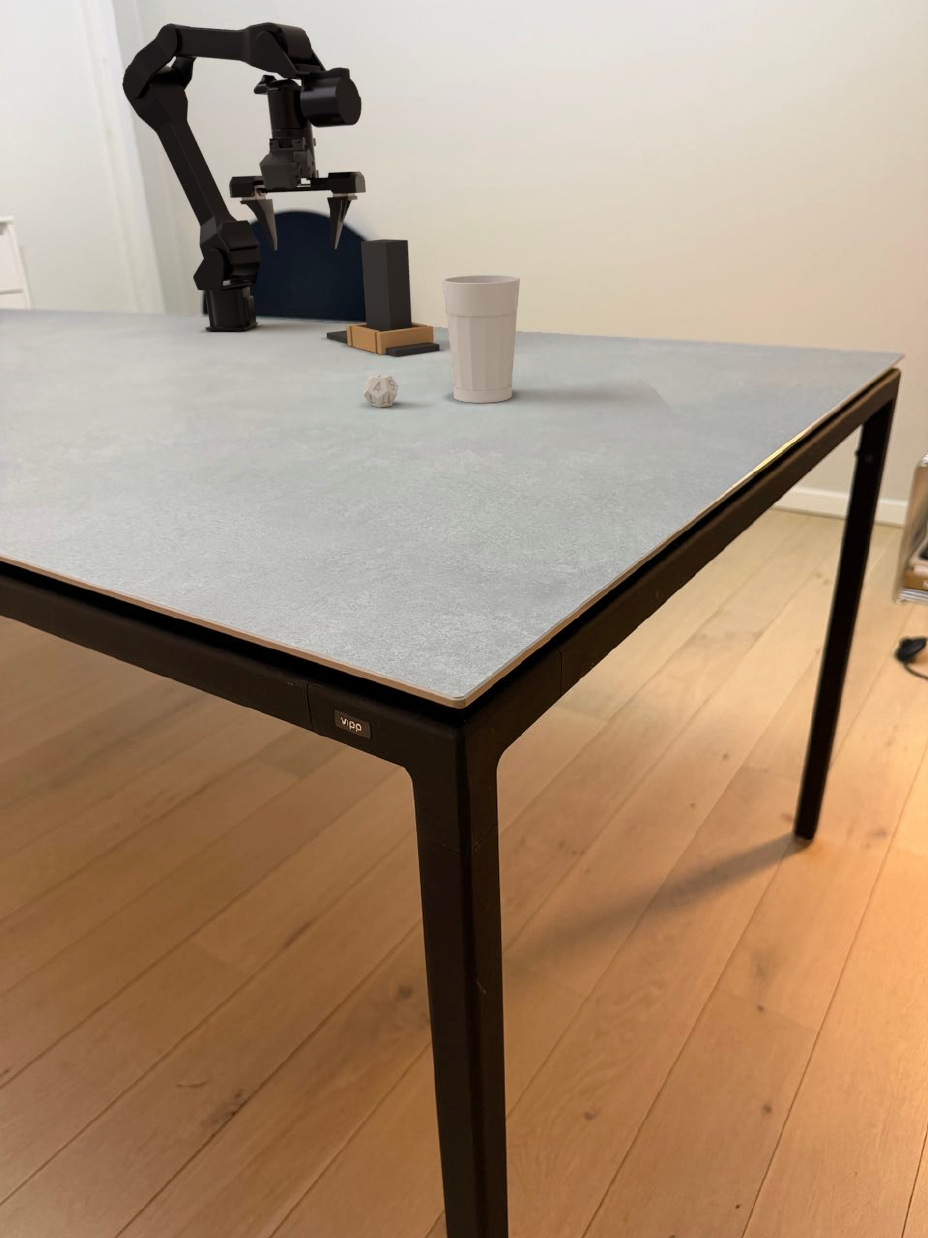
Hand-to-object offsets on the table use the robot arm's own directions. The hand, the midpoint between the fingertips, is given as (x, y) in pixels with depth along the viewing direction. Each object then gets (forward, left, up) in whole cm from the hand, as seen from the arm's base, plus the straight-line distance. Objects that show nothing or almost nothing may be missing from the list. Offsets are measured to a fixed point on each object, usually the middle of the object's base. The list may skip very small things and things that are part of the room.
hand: (304, 249), depth 135 cm
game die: (+23, -45, -12) cm, 52 cm away
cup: (+33, -40, -12) cm, 53 cm away
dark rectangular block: (+15, -10, -11) cm, 21 cm away
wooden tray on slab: (+13, -8, -12) cm, 19 cm away
